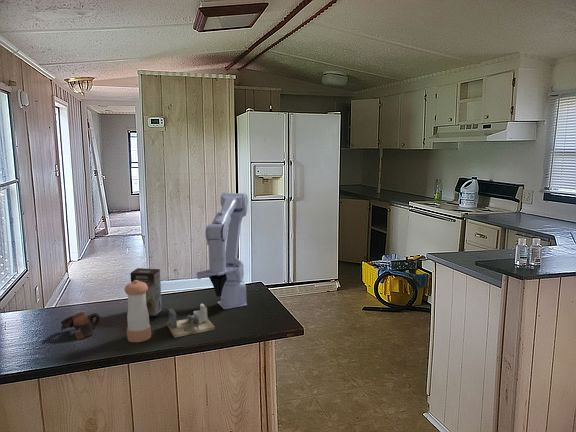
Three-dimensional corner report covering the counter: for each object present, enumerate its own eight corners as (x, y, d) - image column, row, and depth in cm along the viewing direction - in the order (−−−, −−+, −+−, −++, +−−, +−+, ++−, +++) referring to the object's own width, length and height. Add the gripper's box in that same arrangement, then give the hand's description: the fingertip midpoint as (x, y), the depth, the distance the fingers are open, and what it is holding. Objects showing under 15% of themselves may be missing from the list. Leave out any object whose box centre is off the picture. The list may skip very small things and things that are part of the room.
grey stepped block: (203, 316, 154) (202, 303, 154) (209, 323, 148) (208, 310, 148) (186, 319, 152) (185, 306, 151) (191, 326, 146) (191, 313, 145)
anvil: (173, 322, 150) (172, 308, 149) (176, 327, 145) (176, 313, 145) (168, 322, 150) (168, 309, 149) (172, 328, 145) (171, 314, 144)
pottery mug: (68, 345, 136) (57, 321, 137) (68, 347, 145) (58, 324, 145) (106, 327, 143) (96, 304, 143) (104, 329, 151) (94, 308, 152)
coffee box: (131, 315, 159) (128, 272, 157) (139, 308, 165) (136, 267, 163) (155, 316, 158) (153, 273, 156) (162, 309, 165) (160, 268, 162)
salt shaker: (128, 334, 143) (124, 277, 140) (151, 331, 145) (148, 276, 142) (126, 343, 136) (122, 284, 133) (150, 341, 138) (147, 282, 135)
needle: (196, 322, 148) (196, 317, 148) (200, 326, 144) (200, 322, 144) (193, 322, 147) (193, 318, 147) (196, 327, 144) (196, 322, 144)
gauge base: (205, 318, 156) (205, 314, 156) (214, 329, 146) (214, 325, 146) (167, 325, 150) (166, 321, 150) (174, 337, 140) (174, 333, 140)
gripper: (200, 263, 144) (201, 302, 147) (241, 258, 151) (241, 295, 153) (194, 258, 151) (195, 296, 153) (234, 253, 157) (234, 289, 159)
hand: (218, 295), depth 153 cm, fingers closed
